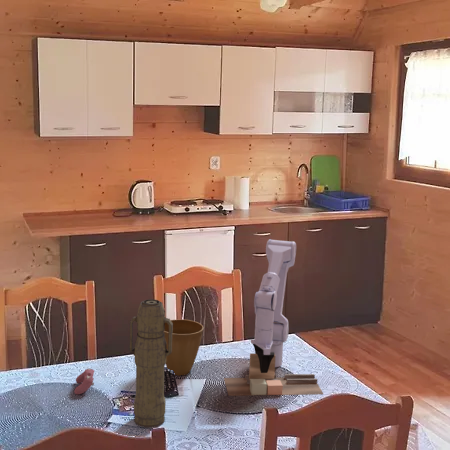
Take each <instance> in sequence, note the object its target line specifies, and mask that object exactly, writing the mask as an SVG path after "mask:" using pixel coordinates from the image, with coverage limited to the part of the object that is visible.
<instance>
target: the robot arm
mask: <svg viewBox="0 0 450 450" xmlns="http://www.w3.org/2000/svg"><path fill="white" fill-rule="evenodd" d="M296 254H297V243H296V242H295V241H293V240H292V241H290V240H289V241H288V240H279V239H278V240H277V239H271V238H270V239H268V240H267V241H266V245H265V255H266V259H267V261H268V262H267V263H268V267H267V272H266V273H264V274H263V275H262V279H261V282H260V286H259V289H258V291H256V292H255V293H254V300H253V307H254V314H255V321H254V322H255V325H254V339H251V340H250V343H251V344H252V345H253V348H254V354H257V355H258V358H259V363H260V371H261V373H267V372H268V369H269V366H270V363H271V360H272V359H273V357H274V355H275V368H279V367H281V366H282V365H283V355H284V354H283V353H284V343H286V342H287V341H288V337H289V323H290V322H289V320H288V318H287V317H285V316H284V315H283V309H284V308H283V307H284V300H285V299H284V298H285V293H286V284H287V278H288V277H287V276H288V272H289V269H290V268H291V267H294V265H295V263H296V261H295V260H296V256H297V255H296Z"/></svg>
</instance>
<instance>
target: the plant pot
mask: <svg viewBox="0 0 450 450" xmlns="http://www.w3.org/2000/svg"><path fill="white" fill-rule="evenodd" d="M170 320H171V322H172V323H173V331H172V352H171V354H169V355H168V356H166V364H165V366H166V369H167V368H168V369H170V370H173V371H174V373H175V375H174V376H176V375H177V376H179V377H180V376H181V375H182V376H186V375H188V374H190V373H191V370H192V369H193V366H194V363H195V361H196V359H197V355H198V353H199V350H200V345H201V341H202V337H203V332H204V326H203V324H202V323H200V322H198V321H195V320H192V319H191V320H190V319H183V318H182V319H170ZM164 333H165V340H166V343H167V346H166V349H167V351H168V338H169V325H168V324H167V323H165V330H164ZM168 369H167V370H168Z"/></svg>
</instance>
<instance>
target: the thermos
mask: <svg viewBox="0 0 450 450" xmlns="http://www.w3.org/2000/svg"><path fill="white" fill-rule="evenodd" d="M171 320H172V319H170V318H167V317H166V310H165V307H164V304H163V302H162V301H161V300H158V299H150V298H149V299H145V300H142V301H140V303H139V307H138V308H137V315H136V316H133V317H132V318H131V320H130V321H129V354H133V355H132V356H134V364H135V366H136V367H135V370H136V371H135V398H134V401H133V415H134V418H133V422H134V423H135V424H134V425H136V426H138V427H141V428H145V429H146V428H147V429H149V428H151V429H152V427H153V428H158V427H160V426H162V425H163V424H164V423H165V420H166V418H165V414H166V405H167V404H166V397H165V366H166V356H168V355H169V354H171V352H172V331H173V323H172V322H171ZM134 322H135V323H137V327H136V329H137V335H136V338H135V339H136V340H135V342H134V347H133V341H134V340H133V333H134V332H133V331H134V329H133V328H134V327H133V326H134V325H133V324H134ZM165 323H167V324H168V325H169V338H168V351H167V349H166V346H167V343H166V340H165V333H164V330H165Z"/></svg>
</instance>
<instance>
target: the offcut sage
mask: <svg viewBox="0 0 450 450" xmlns="http://www.w3.org/2000/svg"><path fill="white" fill-rule="evenodd" d="M266 391H267V383H266V381H265V379H250V392H251V395H250V396H267V395H266Z"/></svg>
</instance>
